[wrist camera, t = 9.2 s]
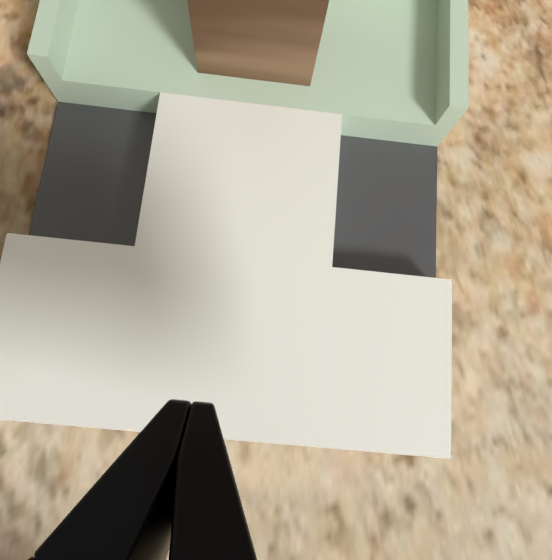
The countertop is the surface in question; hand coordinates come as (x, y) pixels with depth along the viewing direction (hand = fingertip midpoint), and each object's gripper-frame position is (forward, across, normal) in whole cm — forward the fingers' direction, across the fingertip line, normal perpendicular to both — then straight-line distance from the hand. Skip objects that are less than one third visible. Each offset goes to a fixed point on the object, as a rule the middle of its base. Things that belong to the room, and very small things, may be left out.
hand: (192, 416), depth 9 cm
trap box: (+15, 0, 0) cm, 15 cm away
